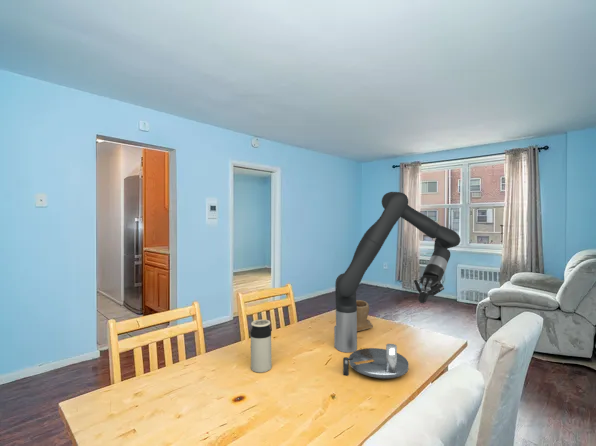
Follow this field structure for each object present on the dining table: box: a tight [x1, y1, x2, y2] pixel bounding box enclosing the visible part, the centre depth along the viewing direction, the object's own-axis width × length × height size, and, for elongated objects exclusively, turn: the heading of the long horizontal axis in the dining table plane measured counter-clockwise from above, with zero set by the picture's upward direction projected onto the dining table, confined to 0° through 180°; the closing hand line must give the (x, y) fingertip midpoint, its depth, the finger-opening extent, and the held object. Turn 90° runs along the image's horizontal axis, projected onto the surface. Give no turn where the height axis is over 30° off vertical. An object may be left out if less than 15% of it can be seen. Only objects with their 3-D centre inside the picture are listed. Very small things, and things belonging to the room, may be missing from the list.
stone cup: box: [356, 299, 374, 332], centre depth 166 cm, size 15×12×15 cm
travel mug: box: [250, 319, 273, 373], centre depth 124 cm, size 8×8×18 cm
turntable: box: [348, 343, 409, 379], centre depth 122 cm, size 22×22×10 cm
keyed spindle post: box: [342, 356, 353, 377], centre depth 120 cm, size 13×19×6 cm, turn 131°
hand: (421, 302), depth 130 cm, fingers closed
